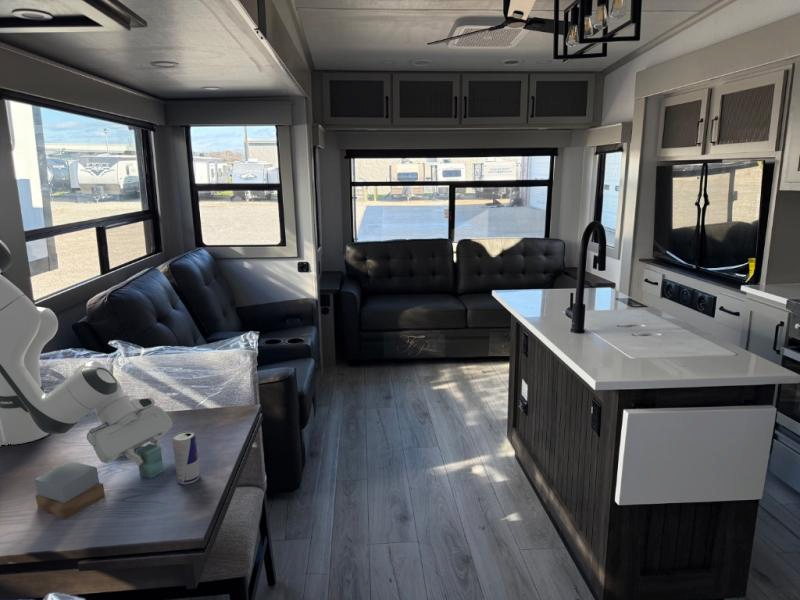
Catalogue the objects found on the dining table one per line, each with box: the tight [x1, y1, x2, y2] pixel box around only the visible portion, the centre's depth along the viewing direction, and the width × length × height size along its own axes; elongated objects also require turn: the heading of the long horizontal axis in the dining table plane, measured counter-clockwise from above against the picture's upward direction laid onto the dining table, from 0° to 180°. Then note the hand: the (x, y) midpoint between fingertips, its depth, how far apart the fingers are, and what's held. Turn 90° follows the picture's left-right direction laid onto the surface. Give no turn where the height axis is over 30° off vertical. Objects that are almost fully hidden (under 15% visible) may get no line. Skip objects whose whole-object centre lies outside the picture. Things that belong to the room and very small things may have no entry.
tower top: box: [34, 460, 100, 503], centre depth 132 cm, size 9×9×4 cm
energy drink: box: [172, 430, 201, 485], centre depth 141 cm, size 5×5×12 cm
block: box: [135, 443, 164, 480], centre depth 145 cm, size 4×4×7 cm
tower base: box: [35, 481, 106, 520], centre depth 133 cm, size 10×10×4 cm
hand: (151, 458), depth 144 cm, fingers closed on block, 4 cm apart
